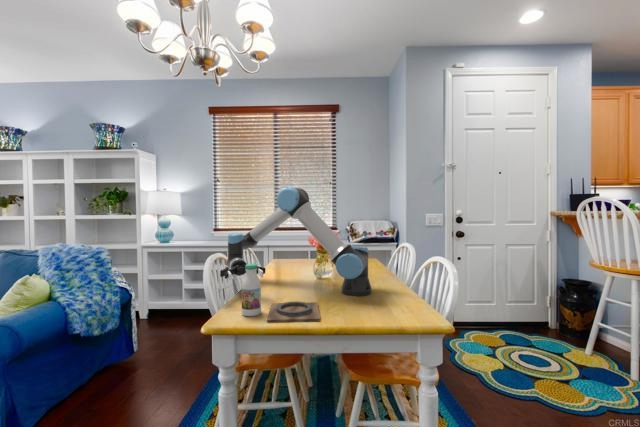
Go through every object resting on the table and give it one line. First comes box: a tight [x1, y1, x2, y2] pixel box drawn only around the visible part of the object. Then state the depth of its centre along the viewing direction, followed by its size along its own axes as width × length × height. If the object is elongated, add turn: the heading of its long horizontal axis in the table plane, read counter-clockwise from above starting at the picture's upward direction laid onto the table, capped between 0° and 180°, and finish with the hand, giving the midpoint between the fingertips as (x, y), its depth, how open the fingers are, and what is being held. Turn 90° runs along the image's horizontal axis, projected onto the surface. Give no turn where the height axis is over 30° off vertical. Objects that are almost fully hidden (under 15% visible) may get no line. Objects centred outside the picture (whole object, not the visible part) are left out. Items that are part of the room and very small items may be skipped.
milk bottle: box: [241, 263, 262, 317], centre depth 128 cm, size 8×8×20 cm
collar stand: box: [266, 300, 321, 323], centre depth 129 cm, size 20×20×2 cm
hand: (246, 275), depth 136 cm, fingers open, 13 cm apart
